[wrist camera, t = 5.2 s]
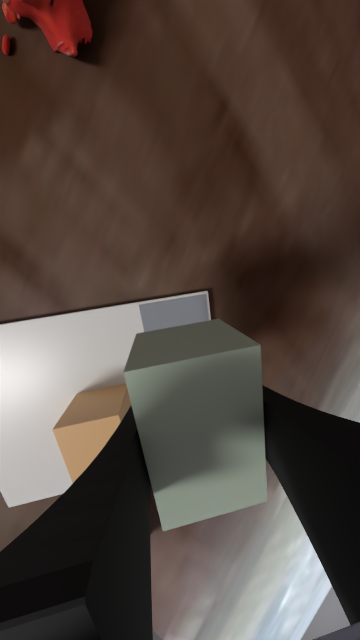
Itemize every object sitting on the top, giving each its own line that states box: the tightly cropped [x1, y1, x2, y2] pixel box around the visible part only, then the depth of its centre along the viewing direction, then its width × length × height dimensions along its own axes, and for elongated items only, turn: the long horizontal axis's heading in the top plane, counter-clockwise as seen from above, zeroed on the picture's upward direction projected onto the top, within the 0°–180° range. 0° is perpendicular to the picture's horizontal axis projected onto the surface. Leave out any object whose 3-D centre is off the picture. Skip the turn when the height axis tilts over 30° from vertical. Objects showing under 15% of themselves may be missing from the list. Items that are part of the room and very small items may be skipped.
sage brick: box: [123, 319, 267, 531], centre depth 10 cm, size 8×5×4 cm, turn 8°
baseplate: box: [0, 291, 211, 507], centre depth 19 cm, size 20×25×1 cm
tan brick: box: [52, 384, 131, 483], centre depth 17 cm, size 8×5×4 cm, turn 8°
